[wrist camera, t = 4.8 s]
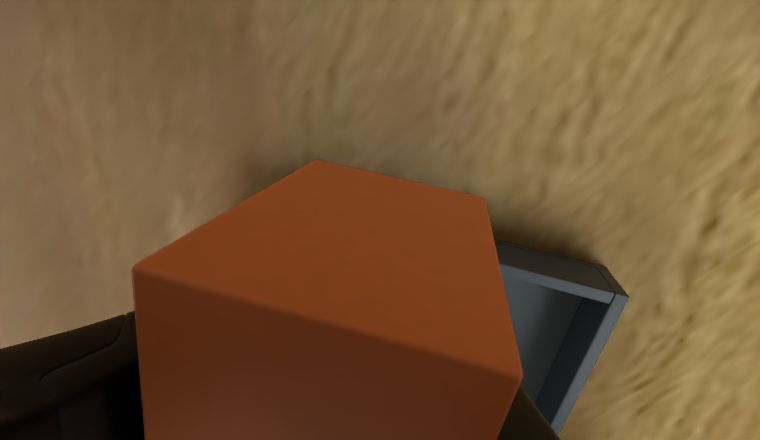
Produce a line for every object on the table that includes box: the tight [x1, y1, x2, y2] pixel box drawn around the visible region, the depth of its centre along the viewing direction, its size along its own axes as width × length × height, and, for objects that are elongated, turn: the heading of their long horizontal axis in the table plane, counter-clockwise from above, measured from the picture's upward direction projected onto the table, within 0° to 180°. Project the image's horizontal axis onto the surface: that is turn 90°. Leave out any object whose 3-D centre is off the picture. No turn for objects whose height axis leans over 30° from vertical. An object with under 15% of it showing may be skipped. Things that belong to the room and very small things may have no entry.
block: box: [132, 159, 523, 440], centre depth 7 cm, size 4×6×6 cm, turn 169°
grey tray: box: [494, 239, 629, 436], centre depth 21 cm, size 17×13×3 cm
